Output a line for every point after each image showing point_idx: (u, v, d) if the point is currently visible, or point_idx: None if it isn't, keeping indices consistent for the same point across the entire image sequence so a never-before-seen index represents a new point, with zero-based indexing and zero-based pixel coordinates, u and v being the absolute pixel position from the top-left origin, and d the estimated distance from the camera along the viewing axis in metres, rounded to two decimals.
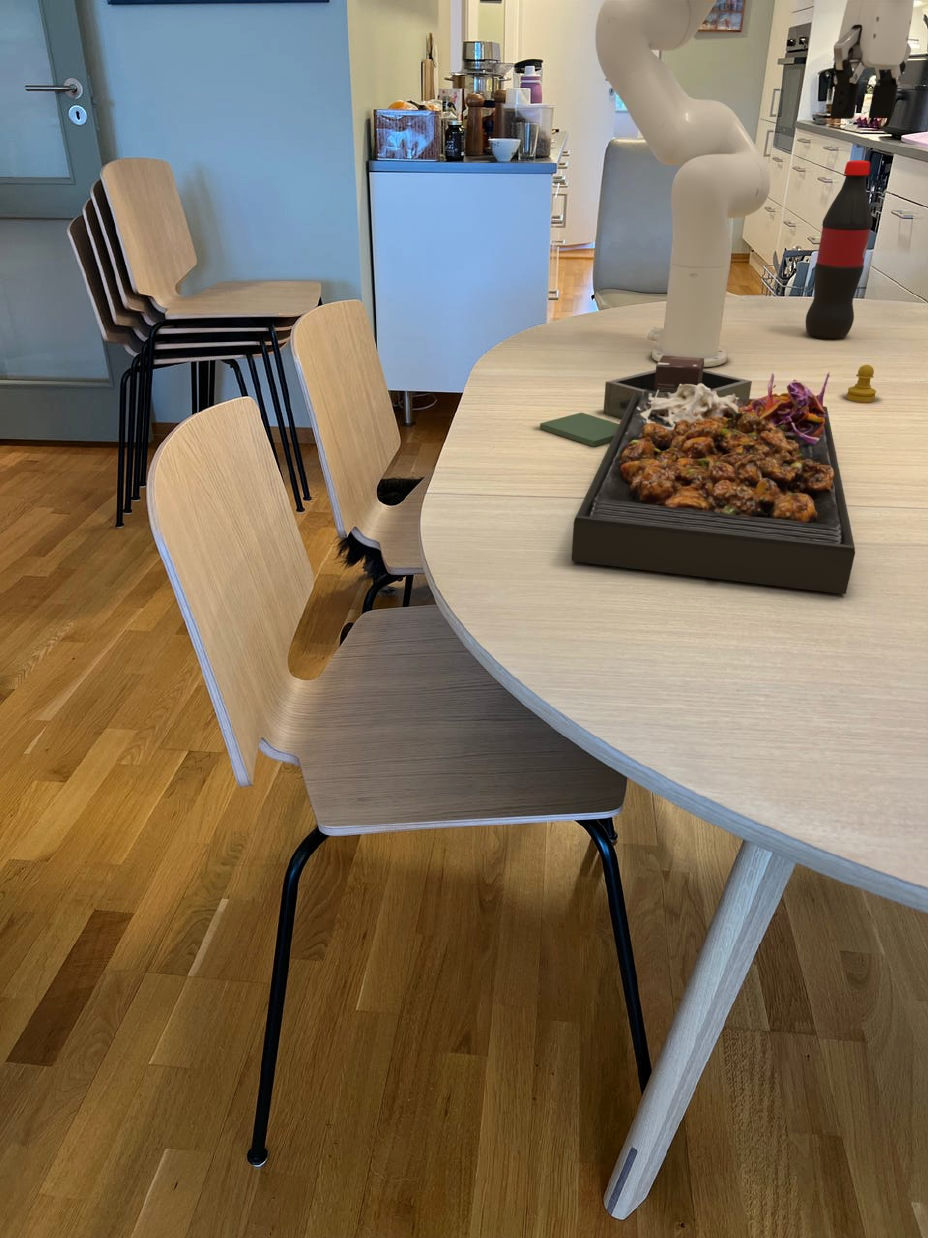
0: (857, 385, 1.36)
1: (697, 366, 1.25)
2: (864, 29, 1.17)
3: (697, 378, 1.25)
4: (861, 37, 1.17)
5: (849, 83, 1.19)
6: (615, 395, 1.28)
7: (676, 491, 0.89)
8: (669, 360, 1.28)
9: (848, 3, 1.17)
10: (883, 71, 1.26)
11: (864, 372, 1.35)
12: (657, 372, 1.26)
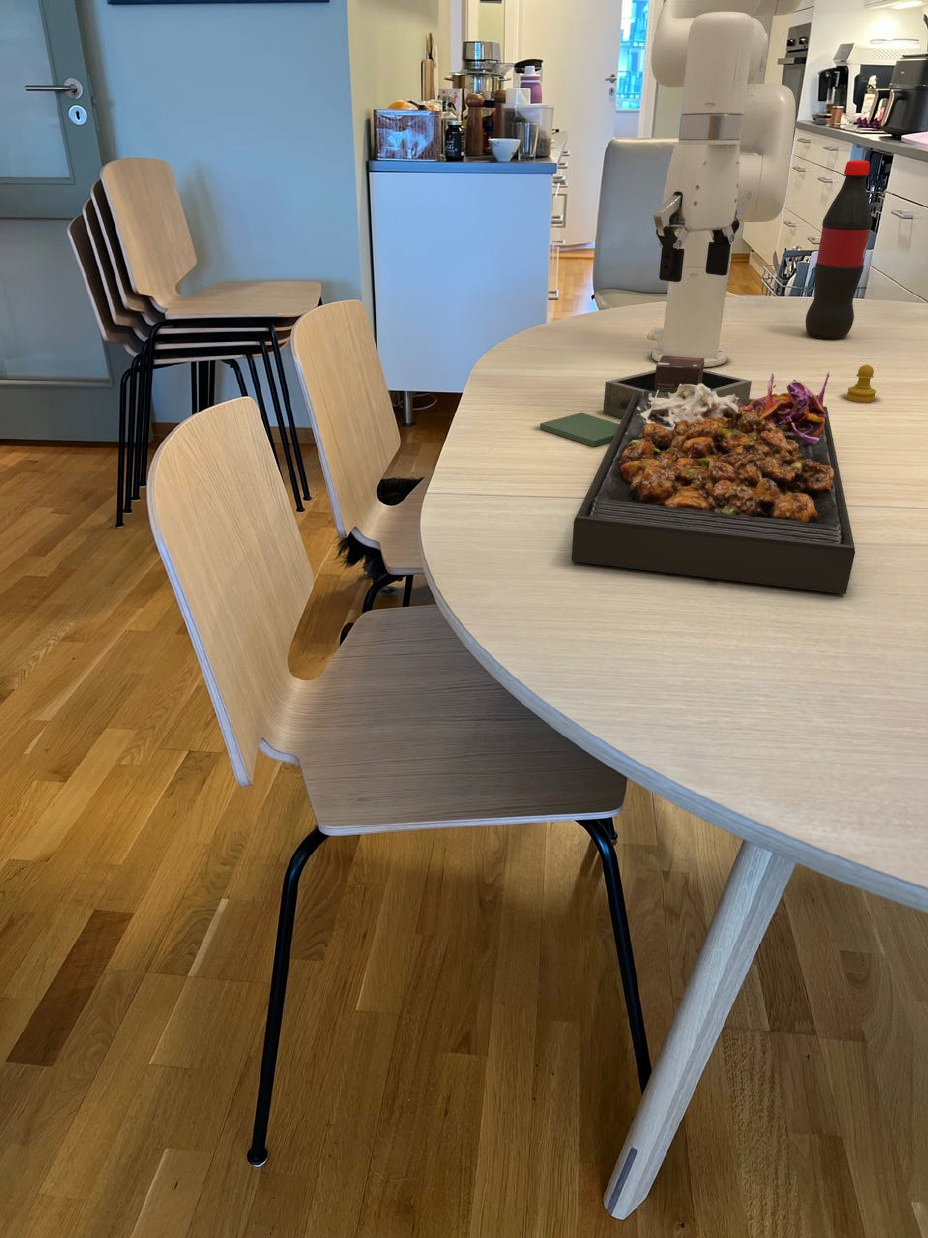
0: (857, 385, 1.36)
1: (697, 366, 1.25)
2: (685, 197, 1.14)
3: (697, 378, 1.25)
4: (682, 204, 1.14)
5: (673, 248, 1.16)
6: (615, 395, 1.28)
7: (676, 491, 0.89)
8: (669, 360, 1.28)
9: (669, 169, 1.15)
10: None
11: (864, 372, 1.35)
12: (657, 372, 1.26)
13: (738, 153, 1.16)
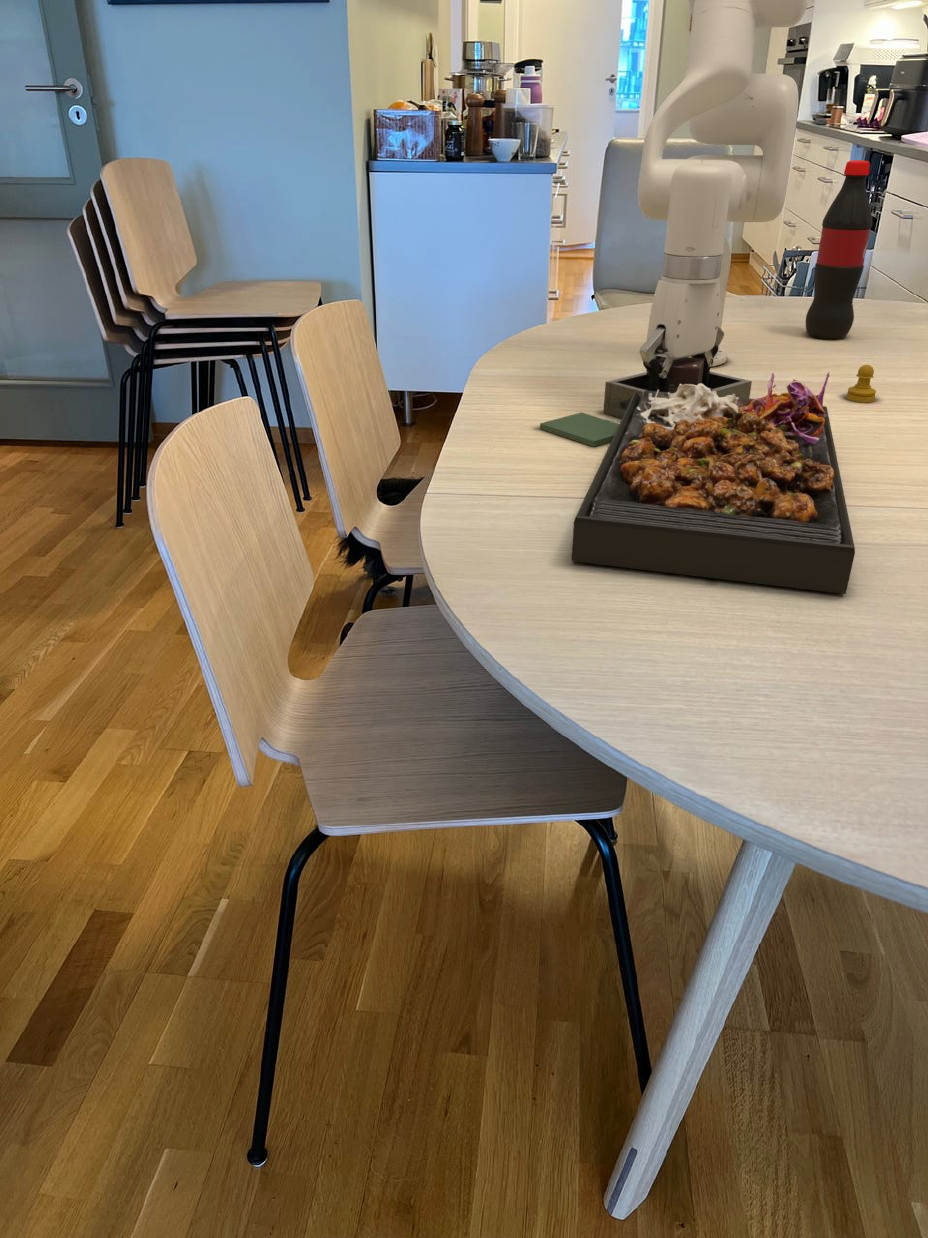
0: (857, 385, 1.36)
1: (697, 366, 1.25)
2: (667, 330, 1.22)
3: (697, 378, 1.25)
4: (665, 336, 1.22)
5: (659, 377, 1.25)
6: (615, 395, 1.28)
7: (676, 491, 0.89)
8: None
9: (653, 303, 1.22)
10: None
11: (864, 372, 1.35)
12: None
13: (718, 286, 1.23)
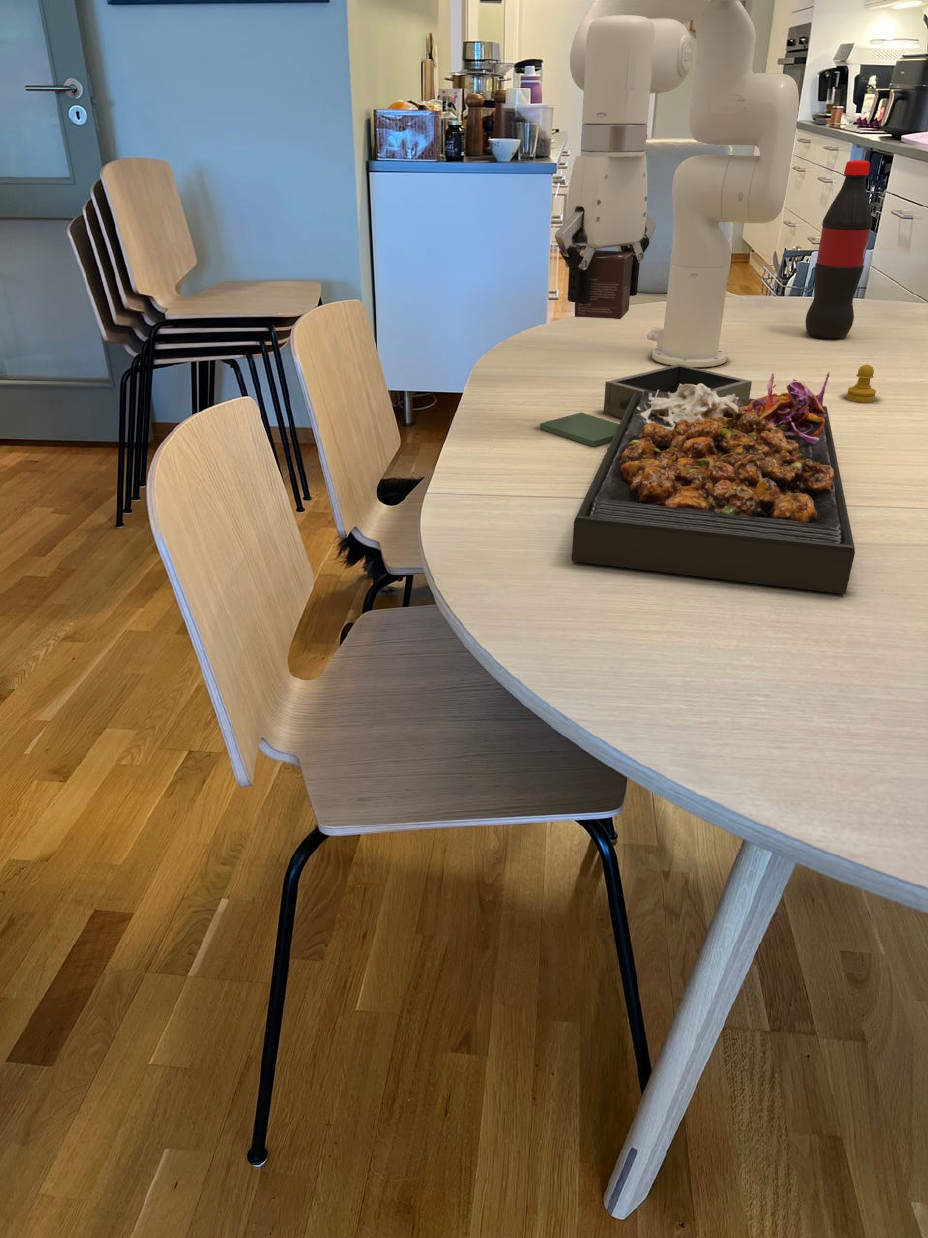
0: (857, 385, 1.36)
1: (622, 256, 1.11)
2: (586, 212, 1.07)
3: (622, 270, 1.11)
4: (584, 220, 1.08)
5: (579, 269, 1.10)
6: (615, 395, 1.28)
7: (676, 491, 0.89)
8: None
9: (571, 182, 1.08)
10: (626, 246, 1.16)
11: (864, 372, 1.35)
12: None
13: (644, 164, 1.09)
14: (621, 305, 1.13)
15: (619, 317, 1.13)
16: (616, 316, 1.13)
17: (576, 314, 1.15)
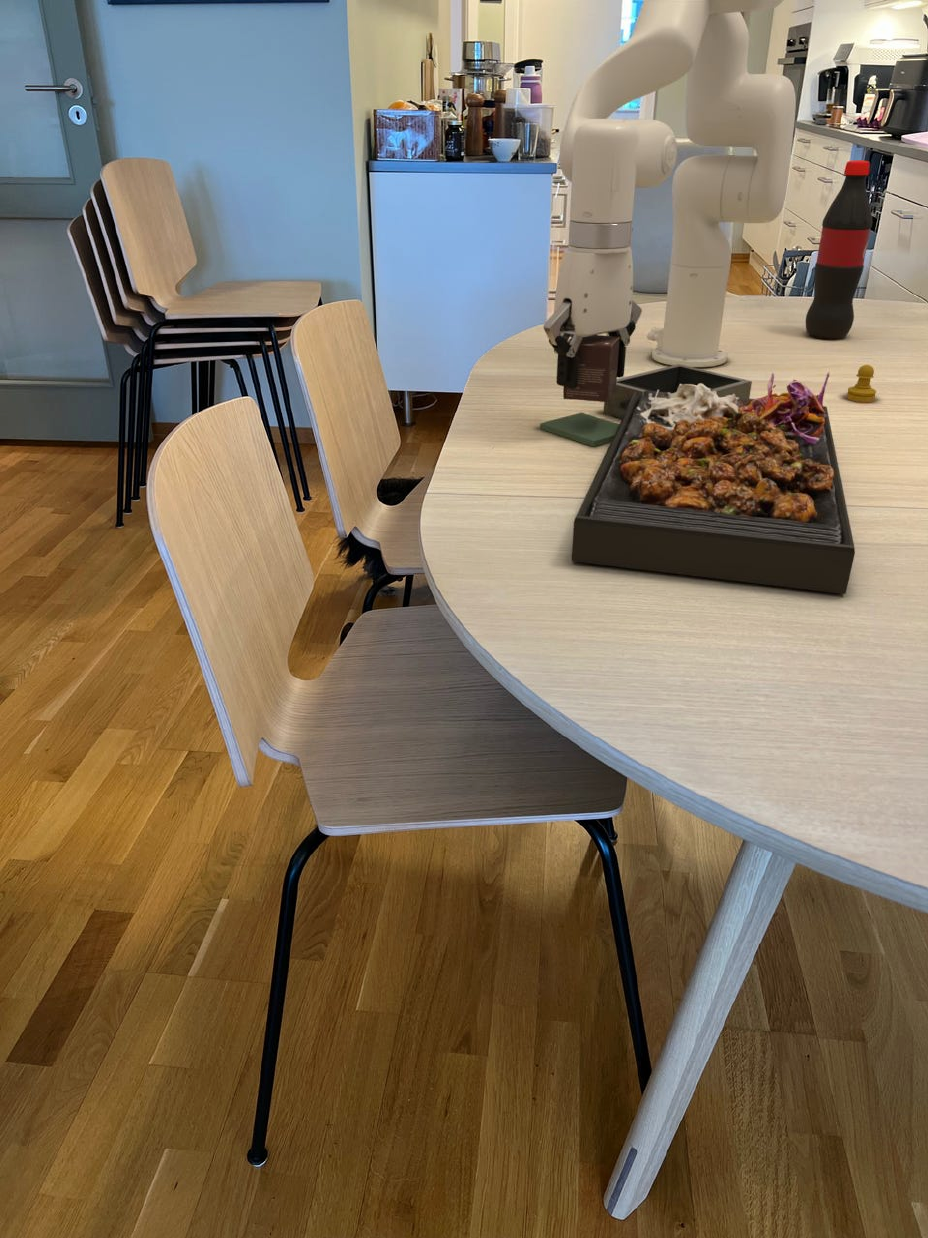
0: (857, 385, 1.36)
1: (609, 344, 1.15)
2: (574, 304, 1.12)
3: (609, 357, 1.15)
4: (572, 311, 1.12)
5: (567, 356, 1.15)
6: (615, 395, 1.28)
7: (676, 491, 0.89)
8: None
9: (559, 275, 1.12)
10: (613, 330, 1.21)
11: (864, 372, 1.35)
12: None
13: (630, 257, 1.13)
14: (608, 389, 1.17)
15: (606, 400, 1.18)
16: (603, 400, 1.18)
17: (565, 396, 1.19)
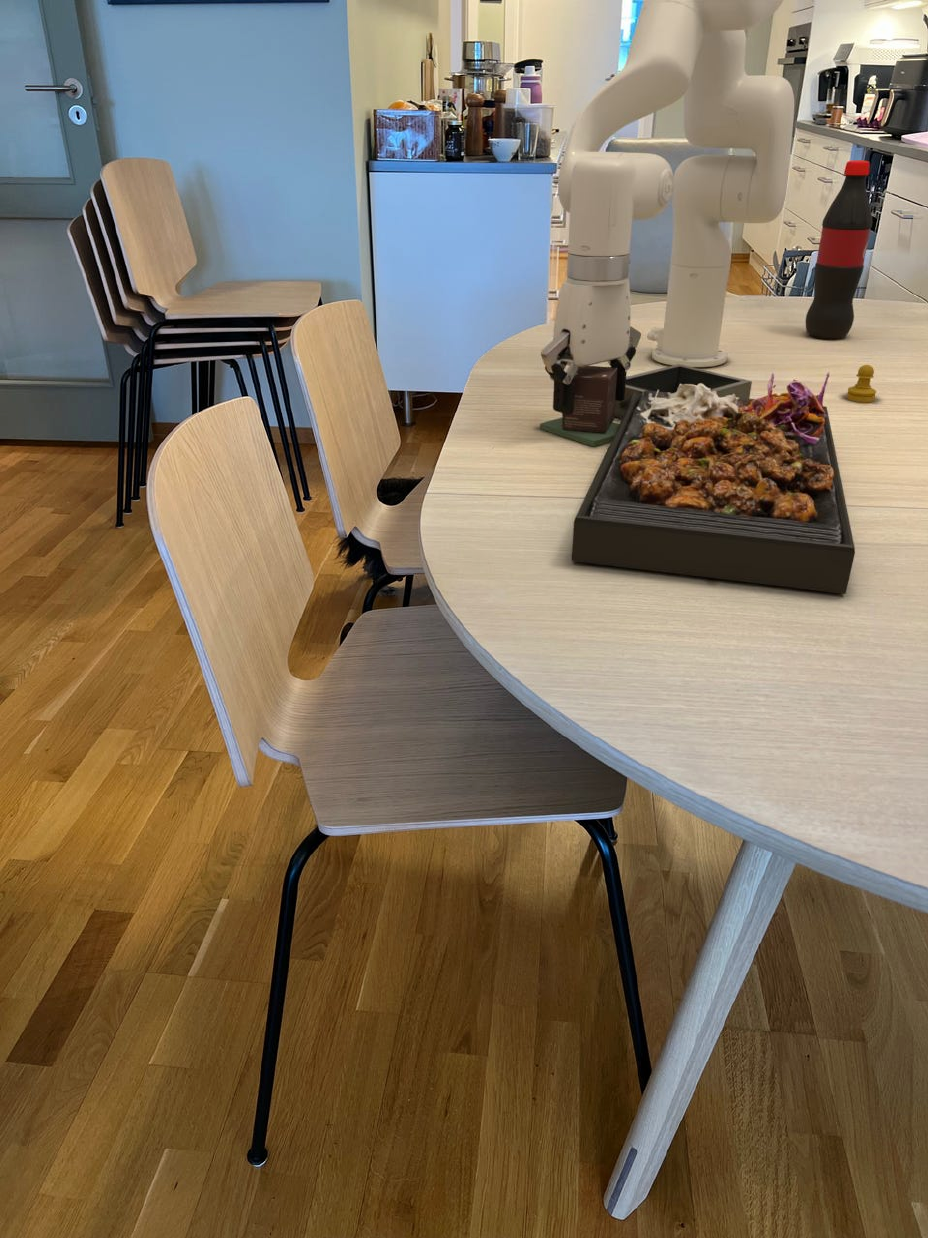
0: (857, 385, 1.36)
1: (606, 376, 1.17)
2: (572, 335, 1.13)
3: (606, 389, 1.17)
4: (570, 342, 1.14)
5: (563, 384, 1.16)
6: None
7: (676, 491, 0.89)
8: (579, 370, 1.20)
9: (557, 306, 1.14)
10: None
11: (864, 372, 1.35)
12: None
13: (627, 288, 1.15)
14: (606, 420, 1.19)
15: (604, 431, 1.20)
16: (601, 430, 1.20)
17: (563, 427, 1.21)
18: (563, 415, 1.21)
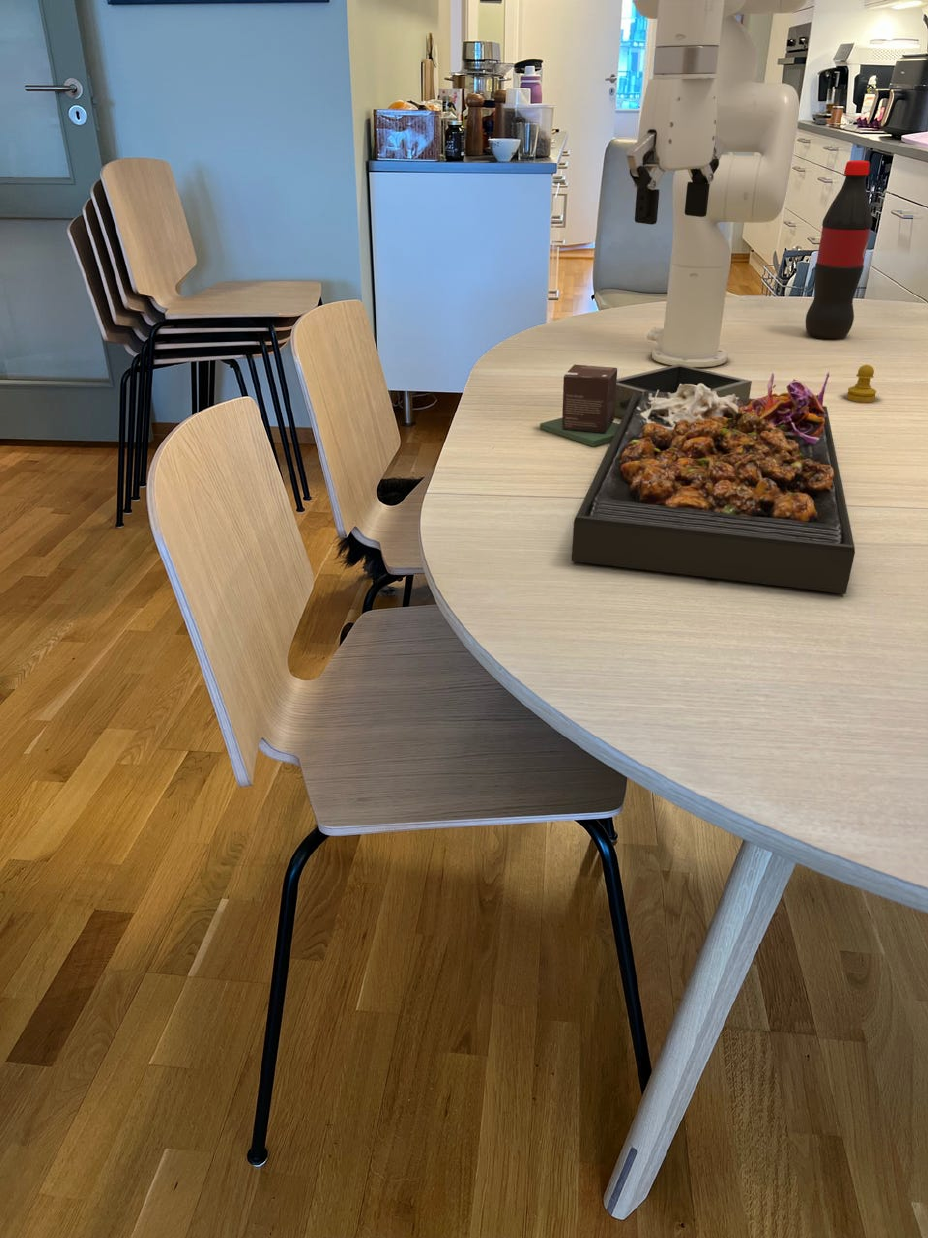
0: (857, 385, 1.36)
1: (606, 376, 1.17)
2: (659, 134, 1.10)
3: (606, 389, 1.17)
4: (656, 142, 1.11)
5: (648, 189, 1.13)
6: (615, 395, 1.28)
7: (676, 491, 0.89)
8: (579, 370, 1.20)
9: (643, 106, 1.11)
10: None
11: (864, 372, 1.35)
12: (565, 383, 1.18)
13: (715, 87, 1.12)
14: (606, 420, 1.19)
15: (604, 431, 1.20)
16: (601, 430, 1.20)
17: (563, 427, 1.21)
18: (563, 415, 1.21)
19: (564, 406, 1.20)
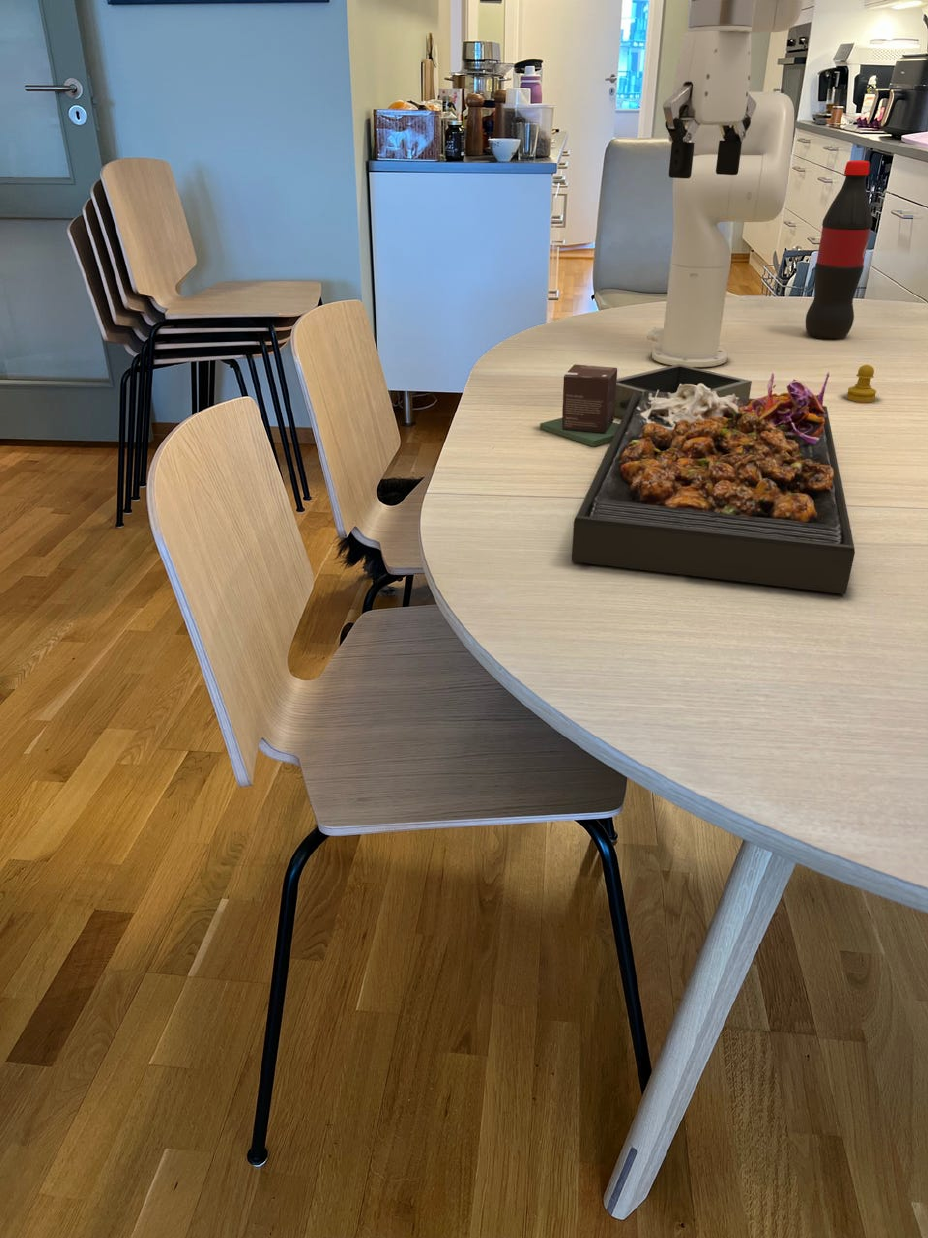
0: (857, 385, 1.36)
1: (606, 376, 1.17)
2: (695, 87, 1.11)
3: (606, 389, 1.17)
4: (692, 95, 1.12)
5: (683, 142, 1.14)
6: (615, 395, 1.28)
7: (676, 491, 0.89)
8: (579, 370, 1.20)
9: (679, 59, 1.12)
10: (727, 126, 1.20)
11: (864, 372, 1.35)
12: (565, 383, 1.18)
13: (750, 42, 1.13)
14: (606, 420, 1.19)
15: (604, 431, 1.20)
16: (601, 430, 1.20)
17: (563, 427, 1.21)
18: (563, 415, 1.21)
19: (564, 406, 1.20)
